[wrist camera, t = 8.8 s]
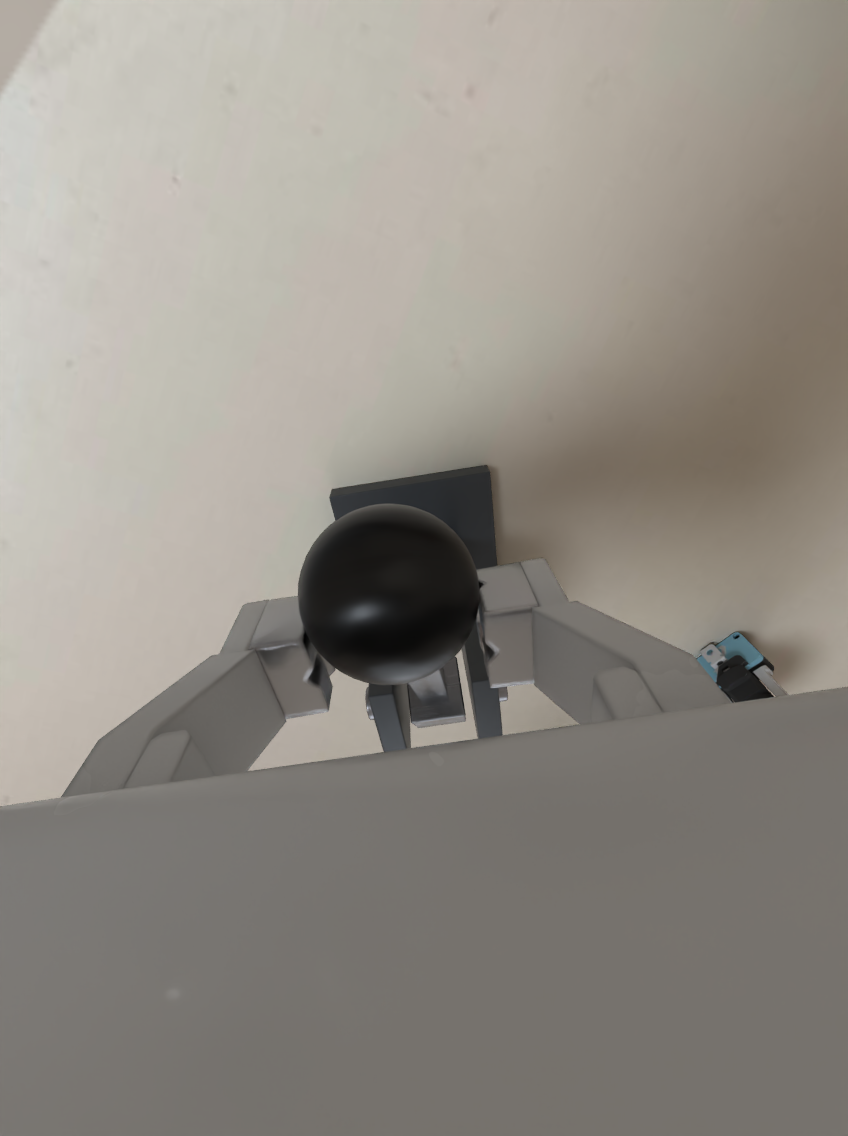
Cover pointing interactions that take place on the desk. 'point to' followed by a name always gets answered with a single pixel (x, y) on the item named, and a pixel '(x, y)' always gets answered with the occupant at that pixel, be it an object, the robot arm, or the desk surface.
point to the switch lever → (393, 604)
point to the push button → (740, 670)
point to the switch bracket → (470, 515)
